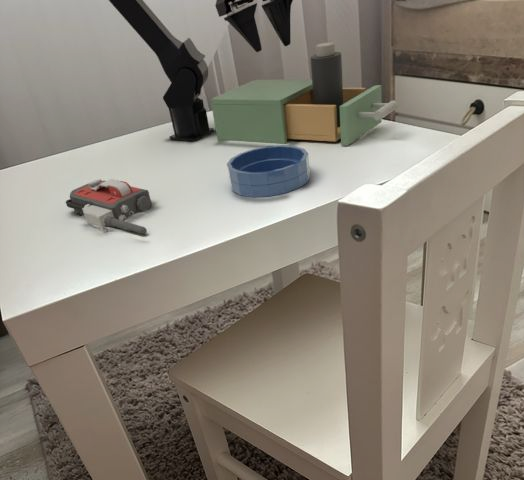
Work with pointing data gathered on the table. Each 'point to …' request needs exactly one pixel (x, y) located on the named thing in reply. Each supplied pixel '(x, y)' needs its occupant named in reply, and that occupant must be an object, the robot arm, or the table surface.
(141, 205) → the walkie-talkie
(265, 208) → the table surface
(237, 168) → the bowl
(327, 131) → the drawer
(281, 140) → the cabinet
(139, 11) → the robot arm
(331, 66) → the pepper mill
